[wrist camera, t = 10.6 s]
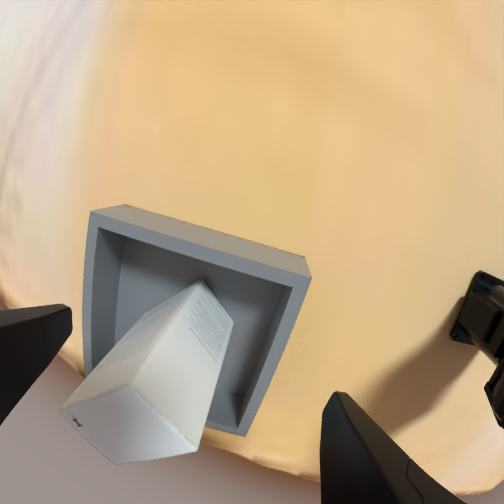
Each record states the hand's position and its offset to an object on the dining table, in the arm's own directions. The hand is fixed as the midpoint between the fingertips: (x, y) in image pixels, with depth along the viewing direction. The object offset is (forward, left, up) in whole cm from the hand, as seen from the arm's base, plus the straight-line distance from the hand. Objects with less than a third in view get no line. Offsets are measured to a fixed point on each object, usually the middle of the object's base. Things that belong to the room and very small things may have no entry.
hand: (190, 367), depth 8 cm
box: (+3, +5, -12) cm, 14 cm away
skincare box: (+3, +5, -12) cm, 13 cm away
